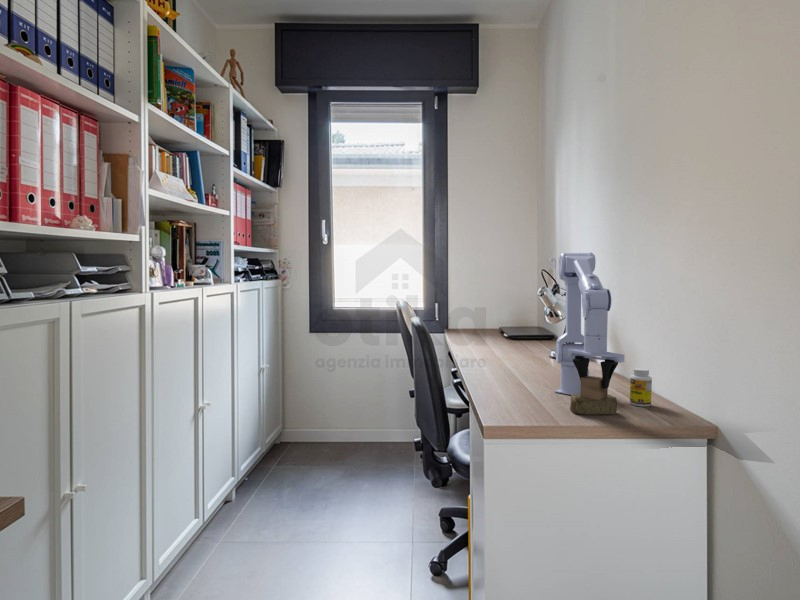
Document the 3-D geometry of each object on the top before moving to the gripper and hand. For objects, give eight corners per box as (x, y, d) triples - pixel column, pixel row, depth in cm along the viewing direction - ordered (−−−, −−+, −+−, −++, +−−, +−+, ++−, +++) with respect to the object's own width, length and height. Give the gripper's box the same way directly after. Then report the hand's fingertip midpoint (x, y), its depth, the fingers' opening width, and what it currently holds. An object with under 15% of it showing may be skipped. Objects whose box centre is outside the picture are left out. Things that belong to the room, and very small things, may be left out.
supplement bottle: (625, 403, 147) (626, 368, 146) (639, 401, 149) (639, 367, 149) (641, 408, 142) (642, 371, 141) (655, 406, 144) (656, 370, 144)
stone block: (618, 416, 134) (618, 397, 134) (575, 416, 134) (575, 397, 133) (609, 410, 140) (609, 392, 139) (567, 410, 139) (567, 392, 139)
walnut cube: (589, 393, 138) (589, 375, 138) (607, 396, 134) (607, 378, 134) (580, 396, 134) (580, 377, 134) (598, 399, 131) (599, 380, 131)
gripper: (562, 334, 136) (561, 384, 137) (616, 338, 126) (615, 393, 126) (575, 332, 141) (574, 380, 142) (628, 336, 131) (627, 389, 131)
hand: (594, 386), depth 134 cm, fingers open, 5 cm apart
